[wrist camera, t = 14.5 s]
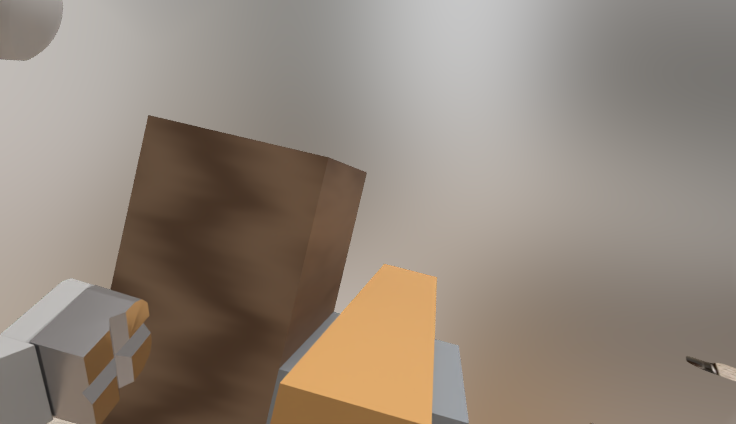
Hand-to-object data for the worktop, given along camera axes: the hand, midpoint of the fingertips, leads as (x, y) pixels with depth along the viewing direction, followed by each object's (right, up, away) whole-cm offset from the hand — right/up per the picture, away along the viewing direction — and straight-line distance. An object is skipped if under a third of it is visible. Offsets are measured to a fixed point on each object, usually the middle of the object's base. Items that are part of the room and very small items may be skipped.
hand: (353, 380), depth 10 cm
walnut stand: (-11, -19, +20) cm, 30 cm away
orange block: (+1, -4, +14) cm, 15 cm away
